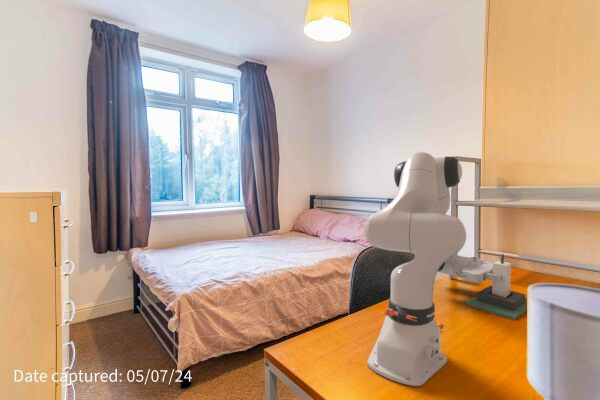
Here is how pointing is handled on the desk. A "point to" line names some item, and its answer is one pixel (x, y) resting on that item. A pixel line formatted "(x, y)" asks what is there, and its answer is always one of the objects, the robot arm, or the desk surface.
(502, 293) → the plug
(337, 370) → the desk surface
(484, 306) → the board
